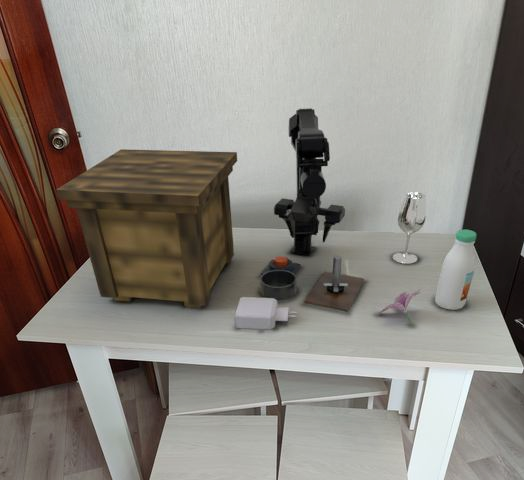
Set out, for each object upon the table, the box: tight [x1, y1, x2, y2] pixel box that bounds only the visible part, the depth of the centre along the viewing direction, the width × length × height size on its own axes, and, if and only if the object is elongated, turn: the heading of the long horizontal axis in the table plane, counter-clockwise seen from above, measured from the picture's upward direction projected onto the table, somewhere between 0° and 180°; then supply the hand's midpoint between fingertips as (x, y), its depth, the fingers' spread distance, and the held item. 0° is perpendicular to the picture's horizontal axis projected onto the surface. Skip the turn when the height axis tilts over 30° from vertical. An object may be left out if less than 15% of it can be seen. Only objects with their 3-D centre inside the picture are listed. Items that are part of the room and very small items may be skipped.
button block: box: [260, 258, 301, 276], centre depth 142 cm, size 10×9×3 cm
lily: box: [377, 288, 422, 326], centre depth 119 cm, size 12×12×10 cm
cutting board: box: [303, 271, 366, 313], centre depth 132 cm, size 18×12×1 cm, turn 156°
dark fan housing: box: [259, 270, 298, 301], centre depth 132 cm, size 10×10×4 cm
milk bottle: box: [434, 229, 477, 311], centre depth 120 cm, size 8×8×20 cm
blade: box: [324, 254, 348, 294], centre depth 128 cm, size 7×7×10 cm
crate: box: [55, 148, 238, 309], centre depth 130 cm, size 35×35×33 cm
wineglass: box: [392, 191, 427, 265], centre depth 141 cm, size 8×8×20 cm
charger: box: [234, 296, 298, 330], centre depth 120 cm, size 5×9×15 cm
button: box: [274, 255, 289, 267], centre depth 141 cm, size 4×4×2 cm
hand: (308, 239), depth 133 cm, fingers open, 9 cm apart
